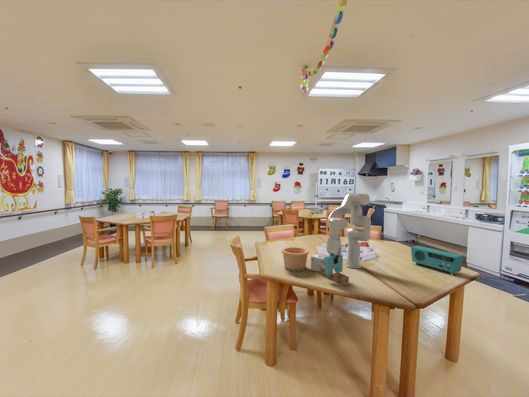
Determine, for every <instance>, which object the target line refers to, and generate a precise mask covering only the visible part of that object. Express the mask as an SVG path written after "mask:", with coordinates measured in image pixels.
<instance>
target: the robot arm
mask: <svg viewBox="0 0 529 397" xmlns="http://www.w3.org/2000/svg"><path fill="white" fill-rule="evenodd" d="M370 199H371V198H370V195H369V194H368V193H354V192H353V193H347V194H345V195H344V198H343V199H342V202H341V204H340V206H339V207H337V208H335V209H334V210H332V211H331V213H330V214H329V216H328V219H327V226H328V228H329V229H328V238H327V240H326V251H327V253H328V256H331V255H335V258H334V264H337V263H338V258H339V256H342V255H343V254H342V242H341V241H342V240H341V230H344V229H346V228H348V225H349V223H350V226H352V227H353V228H352V227H351V228H348V229H347V230H346V231H347V232H346V237H347V262H346V263H345V267H347V268H349V269H353V270H354V269H355V270H358V269H361V268H362V266H363V265H362V264H361V260H360V259H361V243H360V242H369V241H370V238H371V229H372V228H371V227H372V220H371V218H370V216H369V215H362V214H363V209H362V205H363V206H366V205H369V203H370ZM347 214H350V217H349V218H350V222H349V221H348V220H347V218H344V217H342V218H341V217H340V216H345V215H347ZM336 255H337V256H336Z"/></svg>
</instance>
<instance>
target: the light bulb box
mask: <svg viewBox="0 0 529 397" xmlns="http://www.w3.org/2000/svg"><path fill="white" fill-rule="evenodd" d="M322 266H324V267H325V256H324V255H316V254H312V255H311V256H310V270H311V271H316V272H320V267H322Z"/></svg>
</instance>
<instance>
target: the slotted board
mask: <svg viewBox="0 0 529 397" xmlns="http://www.w3.org/2000/svg"><path fill="white" fill-rule="evenodd" d="M319 273H320V274H319V275H320V276H323V277H324V278H327V279H329V280H330V281H332V282H335V283H337V284H339V285H341V286H344V287H348V286H349V283H350V282H349V280H350V278H349V276H348V275H346V274H344V273H342V272H334V273H333V274H330V275H327V274H325V267H324V266H322V267H320V271H319Z"/></svg>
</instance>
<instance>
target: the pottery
mask: <svg viewBox="0 0 529 397" xmlns="http://www.w3.org/2000/svg"><path fill="white" fill-rule="evenodd" d="M281 253H282V254H283V255H282V256H283V263H284V269H286V270H288V271H291V272H301V271H304V270H305V269H306V266H307V259H308V255H309V253H310V250H309V249H307V248H304V247H300V246H289V247H283V248H282V249H281Z"/></svg>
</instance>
